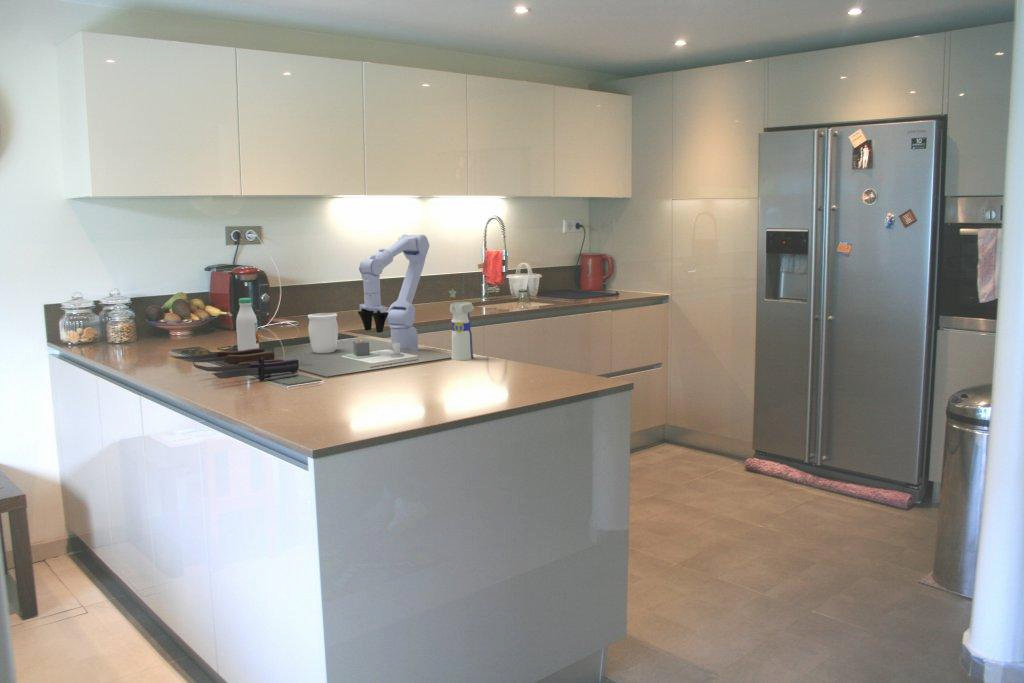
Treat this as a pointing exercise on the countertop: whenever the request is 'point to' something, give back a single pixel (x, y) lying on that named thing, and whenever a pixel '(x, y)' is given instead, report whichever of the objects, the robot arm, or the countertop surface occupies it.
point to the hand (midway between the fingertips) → (373, 331)
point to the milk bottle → (246, 326)
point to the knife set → (244, 363)
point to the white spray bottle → (461, 330)
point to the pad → (361, 356)
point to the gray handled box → (361, 348)
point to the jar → (323, 332)
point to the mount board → (386, 356)
